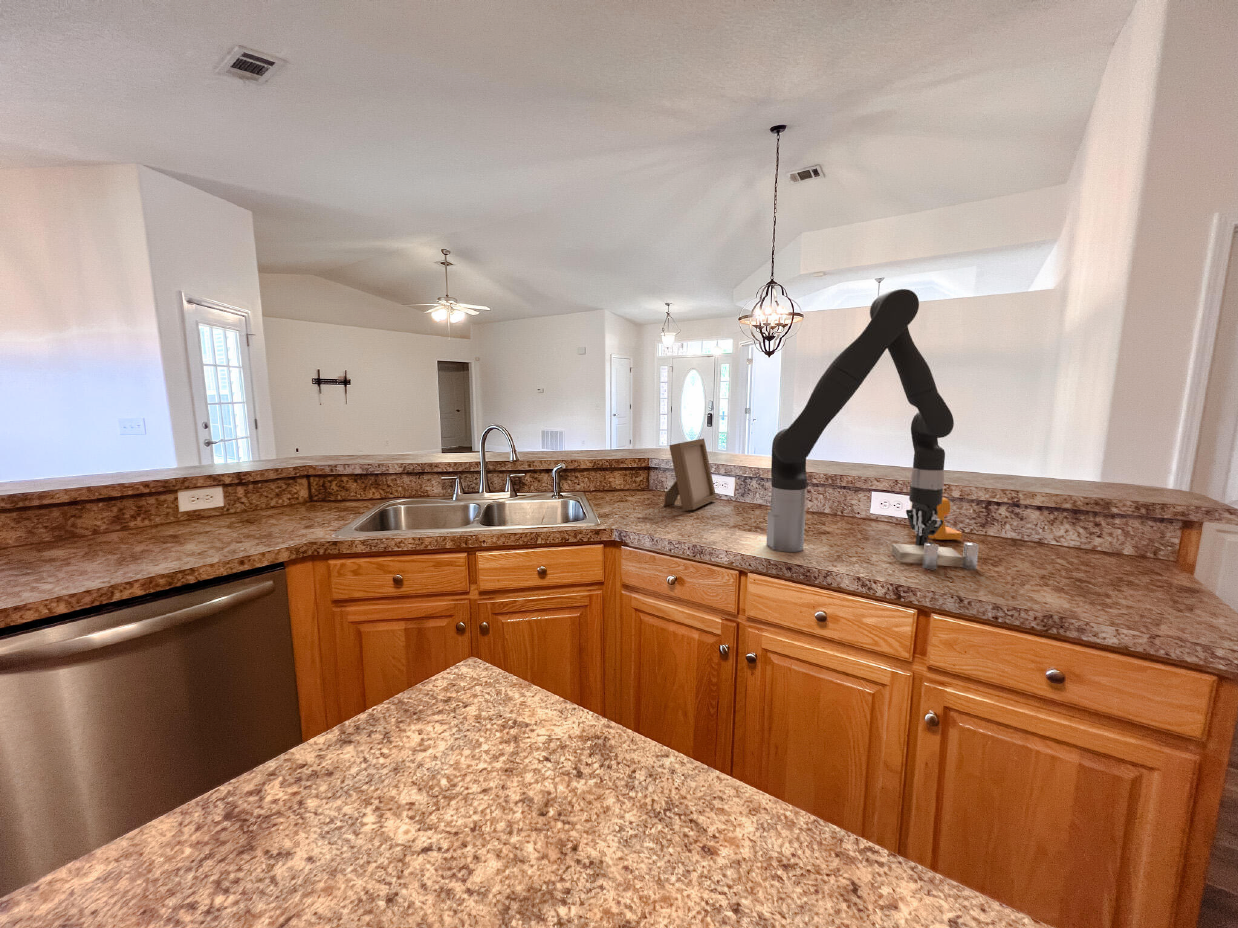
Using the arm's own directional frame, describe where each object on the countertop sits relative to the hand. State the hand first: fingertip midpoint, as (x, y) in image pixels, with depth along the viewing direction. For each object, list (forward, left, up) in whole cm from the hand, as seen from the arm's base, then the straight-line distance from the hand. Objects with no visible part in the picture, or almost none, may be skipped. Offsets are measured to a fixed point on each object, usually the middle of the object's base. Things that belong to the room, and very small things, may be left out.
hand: (921, 548), depth 137 cm
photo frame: (-54, +60, -2) cm, 81 cm away
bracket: (+15, +15, -2) cm, 21 cm away
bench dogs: (0, -12, -1) cm, 12 cm away
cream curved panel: (-2, -5, -2) cm, 6 cm away
